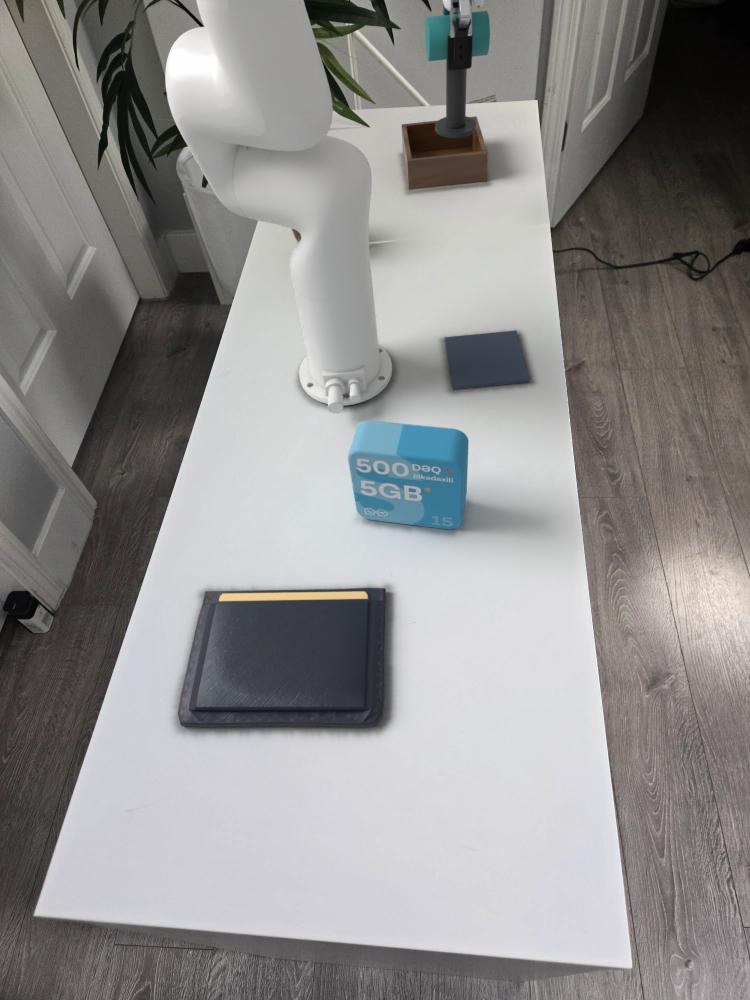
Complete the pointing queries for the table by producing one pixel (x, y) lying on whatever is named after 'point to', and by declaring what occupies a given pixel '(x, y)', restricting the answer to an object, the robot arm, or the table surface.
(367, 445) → the data package
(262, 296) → the table surface
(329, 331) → the robot arm
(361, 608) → the wallet
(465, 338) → the mat
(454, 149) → the open wooden box
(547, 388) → the table surface
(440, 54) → the mallet
